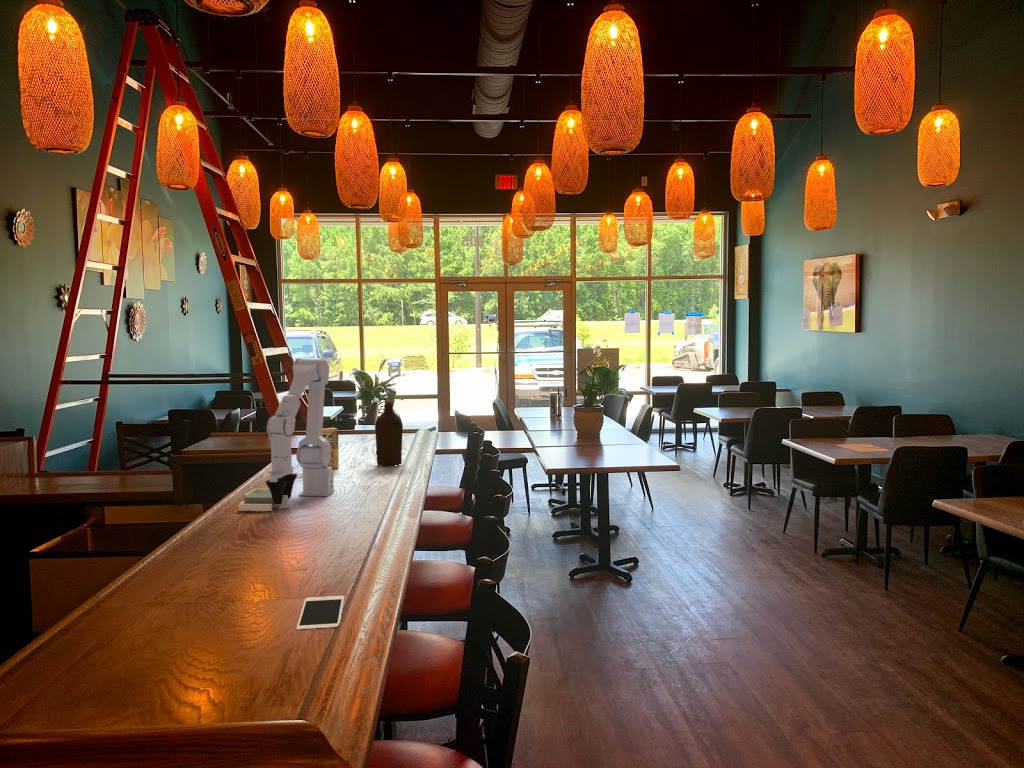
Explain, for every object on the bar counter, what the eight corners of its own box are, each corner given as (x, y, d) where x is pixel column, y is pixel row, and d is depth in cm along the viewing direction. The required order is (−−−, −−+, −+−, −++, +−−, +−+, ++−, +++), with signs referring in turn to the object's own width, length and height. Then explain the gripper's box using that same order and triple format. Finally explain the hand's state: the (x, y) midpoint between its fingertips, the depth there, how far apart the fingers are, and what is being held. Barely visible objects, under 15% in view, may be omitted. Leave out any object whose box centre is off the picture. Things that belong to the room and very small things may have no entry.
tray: (291, 496, 245) (290, 488, 244) (281, 503, 236) (281, 495, 236) (255, 496, 245) (254, 488, 245) (244, 502, 237) (244, 494, 236)
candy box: (334, 466, 294) (333, 427, 292) (339, 468, 290) (338, 428, 289) (312, 469, 288) (311, 429, 287) (317, 471, 285) (316, 430, 283)
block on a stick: (289, 506, 233) (289, 493, 232) (284, 510, 228) (284, 497, 227) (250, 506, 233) (250, 493, 232) (244, 510, 228) (244, 497, 227)
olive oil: (407, 463, 301) (407, 400, 299) (394, 468, 291) (394, 402, 289) (384, 461, 305) (383, 399, 303) (370, 466, 295) (369, 401, 293)
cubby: (280, 505, 233) (280, 498, 233) (271, 512, 225) (270, 504, 225) (249, 504, 234) (249, 497, 234) (238, 511, 226) (238, 504, 226)
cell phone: (344, 598, 157) (344, 595, 157) (339, 629, 142) (339, 626, 142) (305, 600, 156) (305, 597, 156) (296, 632, 140) (295, 628, 140)
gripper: (276, 451, 235) (277, 495, 236) (258, 460, 221) (260, 506, 222) (299, 452, 235) (300, 495, 236) (283, 460, 220) (284, 507, 222)
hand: (282, 501), depth 229 cm, fingers open, 7 cm apart
